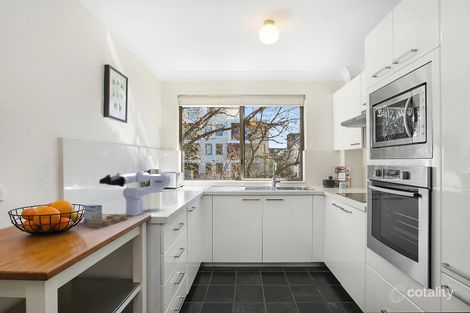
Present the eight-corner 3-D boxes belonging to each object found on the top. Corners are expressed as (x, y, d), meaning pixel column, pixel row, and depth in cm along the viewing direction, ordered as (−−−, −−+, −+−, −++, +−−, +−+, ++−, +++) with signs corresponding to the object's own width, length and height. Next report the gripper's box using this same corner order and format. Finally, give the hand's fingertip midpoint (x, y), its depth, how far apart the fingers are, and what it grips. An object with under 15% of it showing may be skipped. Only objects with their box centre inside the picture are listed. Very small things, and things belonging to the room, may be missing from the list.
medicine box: (83, 222, 141) (83, 205, 141) (90, 220, 146) (90, 204, 146) (95, 223, 139) (95, 206, 139) (102, 221, 143) (102, 204, 143)
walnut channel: (114, 218, 149) (114, 214, 149) (127, 219, 146) (127, 215, 146) (87, 226, 132) (87, 221, 132) (100, 228, 129) (100, 222, 129)
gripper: (115, 171, 158) (95, 173, 145) (134, 173, 152) (115, 176, 140) (115, 183, 158) (95, 186, 146) (134, 185, 153) (115, 189, 140)
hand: (105, 182), depth 143 cm, fingers open, 7 cm apart
